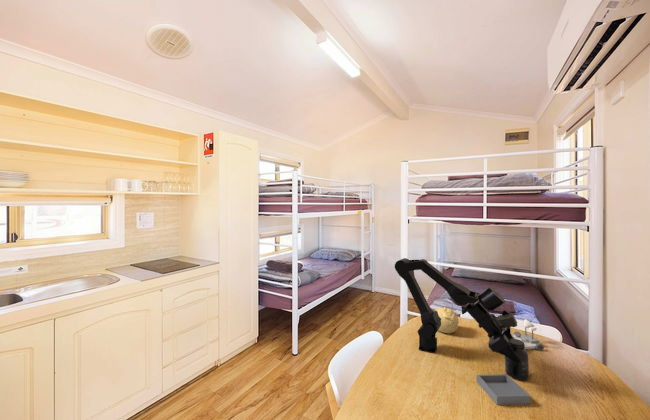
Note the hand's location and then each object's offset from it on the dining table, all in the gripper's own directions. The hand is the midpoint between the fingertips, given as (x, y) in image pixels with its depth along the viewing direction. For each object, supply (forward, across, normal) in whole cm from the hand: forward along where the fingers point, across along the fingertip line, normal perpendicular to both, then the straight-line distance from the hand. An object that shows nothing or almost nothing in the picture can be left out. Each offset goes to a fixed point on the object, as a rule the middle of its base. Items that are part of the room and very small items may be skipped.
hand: (519, 355), depth 90 cm
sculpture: (-15, +22, +26) cm, 37 cm away
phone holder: (+5, +26, +6) cm, 27 cm away
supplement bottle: (+4, 0, +6) cm, 7 cm away
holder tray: (+2, -13, +8) cm, 16 cm away
